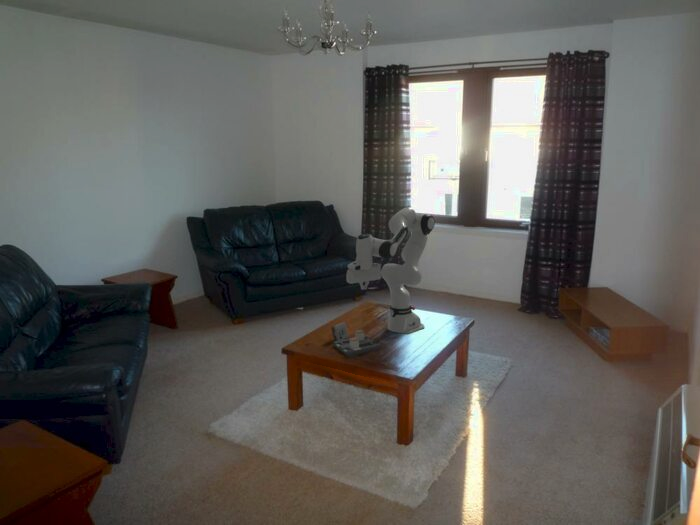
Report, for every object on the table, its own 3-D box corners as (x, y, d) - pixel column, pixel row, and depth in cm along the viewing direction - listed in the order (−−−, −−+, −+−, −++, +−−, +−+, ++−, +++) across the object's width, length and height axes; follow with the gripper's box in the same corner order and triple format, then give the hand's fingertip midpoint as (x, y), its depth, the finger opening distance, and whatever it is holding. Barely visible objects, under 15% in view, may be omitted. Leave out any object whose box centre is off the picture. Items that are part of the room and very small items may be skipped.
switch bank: (365, 339, 291) (365, 334, 291) (380, 349, 278) (380, 344, 277) (333, 346, 282) (333, 341, 281) (348, 356, 268) (348, 351, 268)
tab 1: (356, 346, 276) (356, 337, 275) (359, 348, 274) (359, 338, 272) (349, 348, 274) (349, 338, 273) (352, 350, 272) (352, 340, 270)
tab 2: (361, 338, 287) (361, 329, 286) (364, 340, 284) (364, 331, 283) (355, 340, 285) (355, 330, 284) (357, 342, 282) (357, 332, 281)
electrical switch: (338, 342, 286) (337, 326, 285) (331, 341, 290) (330, 325, 288) (348, 338, 293) (347, 322, 292) (341, 336, 297) (340, 321, 295)
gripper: (377, 261, 283) (377, 285, 287) (344, 265, 273) (344, 290, 277) (383, 263, 278) (383, 288, 281) (350, 267, 268) (350, 293, 271)
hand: (363, 289), depth 279 cm, fingers closed
